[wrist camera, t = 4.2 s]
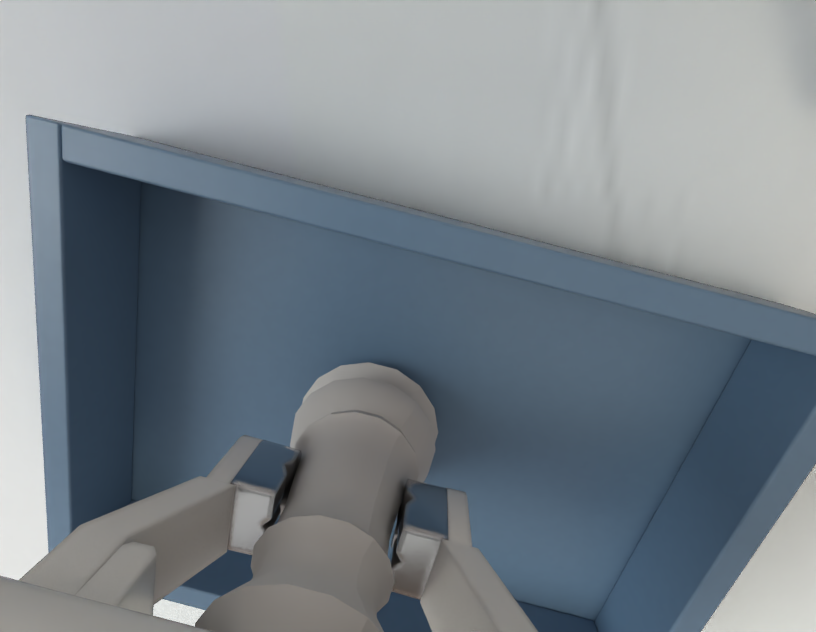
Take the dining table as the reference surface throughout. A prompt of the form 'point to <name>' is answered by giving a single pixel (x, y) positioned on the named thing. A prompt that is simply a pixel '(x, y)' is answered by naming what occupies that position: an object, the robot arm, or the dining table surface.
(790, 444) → the tray
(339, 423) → the rook chess piece
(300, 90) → the dining table surface
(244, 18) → the dining table surface
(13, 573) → the dining table surface
